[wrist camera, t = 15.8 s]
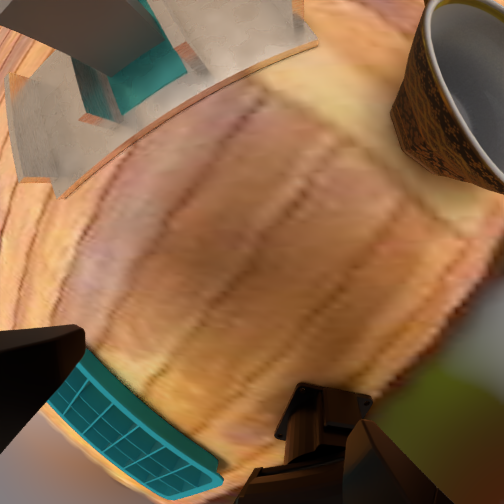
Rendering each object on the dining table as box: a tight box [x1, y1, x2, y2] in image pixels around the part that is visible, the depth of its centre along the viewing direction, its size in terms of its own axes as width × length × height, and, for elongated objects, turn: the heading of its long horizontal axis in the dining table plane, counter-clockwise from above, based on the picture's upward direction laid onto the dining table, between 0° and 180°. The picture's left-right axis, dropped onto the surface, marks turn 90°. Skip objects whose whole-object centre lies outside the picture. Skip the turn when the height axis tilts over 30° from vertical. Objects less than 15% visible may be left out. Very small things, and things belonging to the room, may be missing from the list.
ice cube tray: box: [47, 348, 224, 500], centre depth 23 cm, size 12×20×3 cm, turn 47°
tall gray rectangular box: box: [0, 0, 165, 77], centre depth 10 cm, size 4×5×12 cm
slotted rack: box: [4, 0, 318, 199], centre depth 15 cm, size 15×23×5 cm, turn 116°
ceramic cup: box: [390, 0, 504, 194], centre depth 10 cm, size 13×10×10 cm
